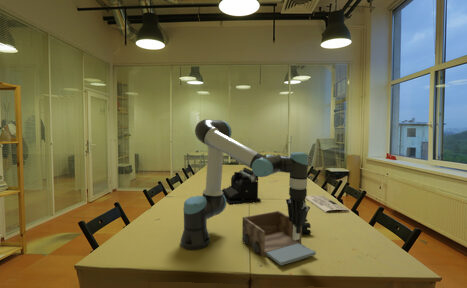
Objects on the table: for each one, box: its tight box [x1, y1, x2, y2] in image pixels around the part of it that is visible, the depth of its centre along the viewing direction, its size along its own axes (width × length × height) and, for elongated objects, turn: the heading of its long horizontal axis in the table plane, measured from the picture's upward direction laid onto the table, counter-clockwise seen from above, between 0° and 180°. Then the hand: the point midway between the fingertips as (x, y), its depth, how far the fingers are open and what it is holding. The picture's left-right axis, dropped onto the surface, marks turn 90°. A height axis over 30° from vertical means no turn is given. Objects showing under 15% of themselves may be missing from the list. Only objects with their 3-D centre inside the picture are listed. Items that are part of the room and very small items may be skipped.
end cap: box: [301, 218, 312, 236], centre depth 133 cm, size 10×7×7 cm
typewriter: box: [221, 167, 262, 206], centre depth 200 cm, size 31×27×25 cm
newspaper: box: [305, 195, 350, 214], centre depth 183 cm, size 37×19×3 cm, turn 6°
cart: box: [241, 210, 302, 257], centre depth 120 cm, size 20×26×12 cm
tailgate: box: [266, 243, 317, 266], centre depth 106 cm, size 2×20×11 cm
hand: (295, 239), depth 102 cm, fingers closed
